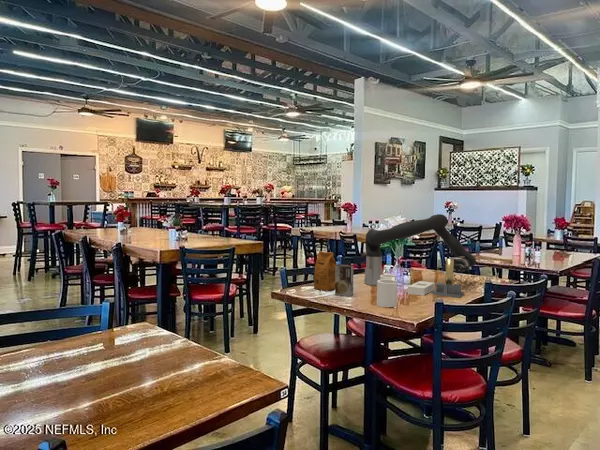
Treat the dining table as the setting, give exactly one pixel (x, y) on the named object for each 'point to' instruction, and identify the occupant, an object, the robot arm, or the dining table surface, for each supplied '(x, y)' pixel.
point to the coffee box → (344, 280)
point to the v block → (448, 290)
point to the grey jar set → (387, 291)
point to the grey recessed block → (421, 288)
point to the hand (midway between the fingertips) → (452, 268)
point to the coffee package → (325, 271)
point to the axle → (449, 271)
